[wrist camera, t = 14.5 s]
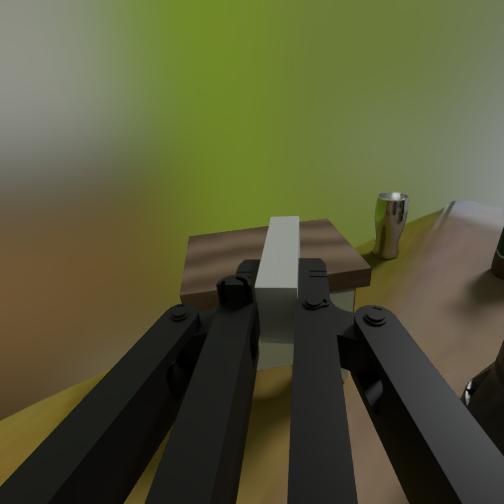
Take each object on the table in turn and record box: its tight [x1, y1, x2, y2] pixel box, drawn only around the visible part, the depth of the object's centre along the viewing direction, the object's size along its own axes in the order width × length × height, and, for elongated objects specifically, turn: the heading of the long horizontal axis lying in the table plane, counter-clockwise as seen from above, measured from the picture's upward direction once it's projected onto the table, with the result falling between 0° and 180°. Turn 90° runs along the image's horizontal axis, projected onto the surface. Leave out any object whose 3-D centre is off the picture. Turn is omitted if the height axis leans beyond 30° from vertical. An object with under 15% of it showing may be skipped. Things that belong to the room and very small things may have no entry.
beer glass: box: [372, 191, 409, 259], centre depth 72 cm, size 7×7×15 cm
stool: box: [180, 219, 372, 313], centre depth 46 cm, size 16×22×20 cm
